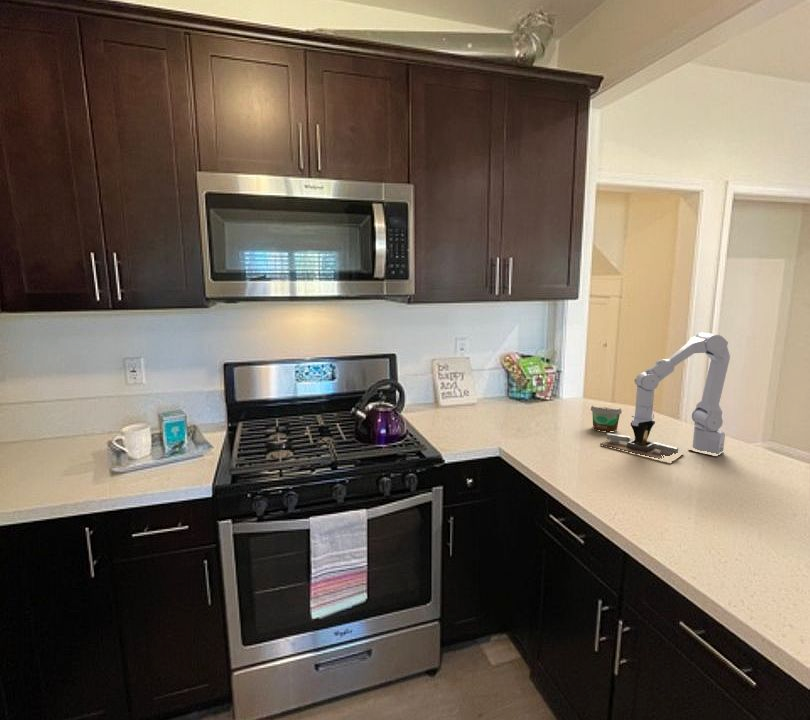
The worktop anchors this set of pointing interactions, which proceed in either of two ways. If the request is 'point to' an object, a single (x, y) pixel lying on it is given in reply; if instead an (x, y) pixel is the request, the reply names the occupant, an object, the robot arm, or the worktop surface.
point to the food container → (605, 418)
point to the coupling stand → (639, 446)
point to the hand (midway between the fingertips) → (641, 440)
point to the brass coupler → (643, 439)
